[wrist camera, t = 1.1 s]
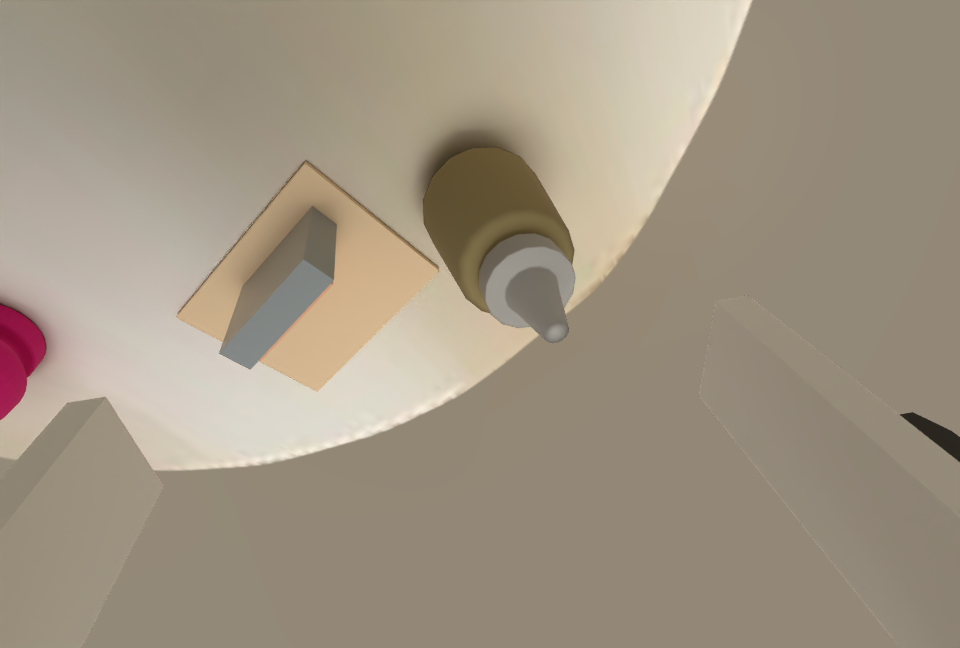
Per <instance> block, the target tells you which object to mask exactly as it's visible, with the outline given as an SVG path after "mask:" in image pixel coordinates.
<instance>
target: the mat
mask: <svg viewBox="0 0 960 648" xmlns="http://www.w3.org/2000/svg"><path fill="white" fill-rule="evenodd" d="M312 206H313V207H314V208H316V209H317V210H318V211H320V212H321V213H322V214H324V215H325V216H326V217H328V218H329V219H330V220H332V221H333V222H334V223H336V224H337V231H336V251H335V270H334V281H333V285H332V286H331V287H330V288H329V290H328V291H327V292H326V293H325V294H324V295H323V296H322V297H321V298H320V299H319V300H318V301H317V302H316V303H315V304H314V306H313V307H312V308H311V309H310V310H309V311H308V312H307V313H306V314H305V315H304V316H303V317H302V318H301V319H300V320H299V321H298V323H297V324H296V325H295V326H294V327H293V328H292V329H291V330H290V331H289V332H288V333H287V334H286V335H285V336H284V337H283V339H282V340H281V341H280V342H279V343H278V344H277V345H276V346H275V347H274V348H273V349H272V350H271V351H270V352H269V353H268V355H267V356H266V357H265V358H264V359H263V360H262V361H260V362H262V363H263V364H265V365H267V366H269V367H271V368H273V369H275V370H277V371H279V372H281V373H282V374H284V375H286V376H288V377H290V378H292V379H294V380H296V381H298V382H300V383H301V384H303V385H305V386H307V387H309V388H311V389H313V390H315V391H318V390H319V389H320V388H322V387H323V386H324V385H325V384H326V383H327V382H328V381H329V380H330V379H331V378H332V377H333V376H334V375H335V374H336V373H337V372H338V371H339V370H340V369H341V368H342V367H343V366H344V365H345V364H346V363H347V362H348V361H349V360H350V359H351V358H352V357H353V356H354V355H355V354H356V353H357V352H358V351H359V350H360V349H361V348H362V347H363V346H364V345H365V344H366V343H367V342H368V341H369V340H370V339H371V338H372V337H373V336H374V335H375V334H376V333H377V332H378V331H379V330H380V329H381V328H382V327H383V326H384V325H385V324H386V323H387V322H388V321H389V320H390V319H391V318H392V317H393V316H394V315H395V314H396V313H397V312H398V311H399V310H400V309H401V308H402V307H403V306H404V305H405V304H406V303H407V302H408V301H409V300H410V299H411V298H413V297H414V296H415V295H416V294H417V293H418V292H419V291H420V290H421V289H422V288H423V287H424V286H425V285H426V284H427V283H428V282H429V281H430V280H431V279H432V278H433V277H434V276H435V275H436V274H437V273H438V272H439V268H438V267H437V266H436V265H435V264H433V263H432V262H431V261H430V260H428V259H427V258H426V257H425V256H423V255H422V254H421V253H420V252H419V251H417V250H416V249H415V248H414V247H412V246H411V245H410V244H409V243H407V242H406V241H405V240H404V239H402V238H401V237H400V236H399V235H397V234H396V233H395V232H394V231H392V230H391V229H390V228H389V227H388V226H386V225H385V224H384V223H383V222H381V221H380V220H379V219H378V218H376V217H375V216H374V215H373V214H371V213H370V212H369V211H368V210H366V209H365V208H364V207H363V206H361V205H360V204H359V203H358V202H356V201H355V200H354V199H353V198H352V197H350V196H349V195H348V194H347V193H345V192H344V191H343V190H342V189H340V188H339V187H338V186H337V185H335V184H334V183H333V182H332V181H330V180H329V179H328V178H327V177H325V176H324V175H323V174H322V173H321V172H319V171H318V170H317V169H316V168H314V167H313V166H312V165H311V164H309V163H308V162H307V161H305V162H304V163H303V165H302V166H301V167H300V168H299V169H298V171H297V172H296V173H295V174H294V175H293V177H292V178H291V179H290V180H289V181H288V183H287V184H286V185H285V186H284V187H283V189H282V190H281V191H280V192H279V193H278V194H277V196H276V197H275V198H274V199H273V200H272V202H271V203H270V204H269V205H268V206H267V208H266V209H265V210H264V211H263V212H262V214H261V215H260V216H259V217H258V218H257V220H256V221H255V222H254V223H253V224H252V226H251V227H250V228H249V229H248V230H247V232H246V233H245V234H244V235H243V236H242V238H241V239H240V240H239V241H238V242H237V243H236V245H235V246H234V247H233V248H232V249H231V251H230V252H229V253H228V254H227V255H226V257H225V258H224V259H223V260H222V261H221V263H220V264H219V265H218V266H217V267H216V269H215V270H214V271H213V272H212V273H211V275H210V276H209V277H208V278H207V279H206V281H205V282H204V283H203V284H202V285H201V286H200V288H199V289H198V290H197V291H196V292H195V294H194V295H193V296H192V297H191V298H190V300H189V301H188V302H187V303H186V304H185V306H184V307H183V308H182V309H181V310H180V312H179V313H178V315H177V317H176V318H178V319H180V320H182V321H184V322H186V323H187V324H189V325H191V326H193V327H195V328H197V329H199V330H201V331H203V332H205V333H206V334H208V335H210V336H212V337H214V338H216V339H218V340H220V341H222V342H223V340H224V338H225V335H226V332H227V329H228V326H229V323H230V320H231V318H232V315H233V312H234V309H235V306H236V303H237V300H238V298H239V295H240V292H241V289H242V286H243V285H244V284H245V283H246V282H247V280H248V279H249V278H250V277H251V276H252V275H253V273H254V272H255V271H256V270H257V269H258V268H259V267H260V265H261V264H262V263H263V262H264V261H265V260H266V259H267V257H268V256H269V255H270V254H271V253H272V252H273V250H274V249H275V248H276V247H277V246H278V245H279V244H280V242H281V241H282V240H283V239H284V238H285V237H286V236H287V234H288V233H289V232H290V231H291V230H292V229H293V227H294V226H295V225H296V224H297V223H298V222H299V221H300V219H301V218H302V217H303V216H304V215H305V214H306V213H307V211H308V210H309V209H310V208H311V207H312Z"/></svg>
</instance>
